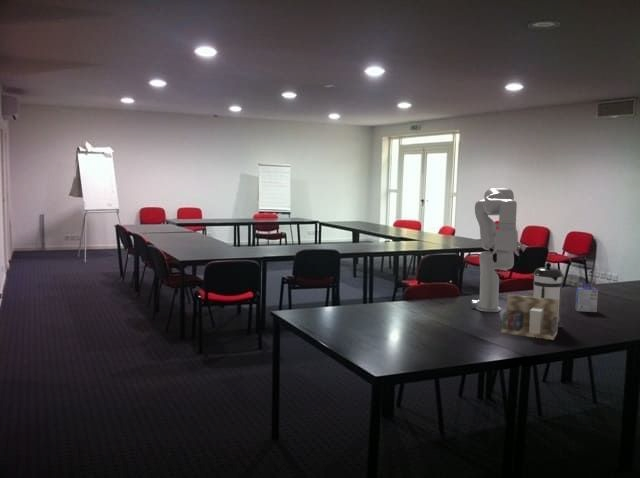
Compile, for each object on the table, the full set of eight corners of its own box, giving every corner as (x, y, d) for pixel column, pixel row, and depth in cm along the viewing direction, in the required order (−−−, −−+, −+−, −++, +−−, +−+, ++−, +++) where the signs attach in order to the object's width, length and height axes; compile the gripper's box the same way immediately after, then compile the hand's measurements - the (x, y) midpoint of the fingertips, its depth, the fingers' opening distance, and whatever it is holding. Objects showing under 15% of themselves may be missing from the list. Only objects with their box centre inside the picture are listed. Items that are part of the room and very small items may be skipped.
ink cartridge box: (594, 310, 290) (595, 283, 289) (597, 312, 285) (599, 285, 283) (574, 309, 292) (576, 282, 291) (577, 311, 287) (578, 284, 285)
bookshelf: (501, 332, 245) (502, 299, 244) (506, 326, 256) (508, 294, 254) (553, 340, 234) (555, 304, 233) (557, 333, 244) (558, 299, 243)
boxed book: (529, 332, 241) (530, 310, 240) (532, 328, 247) (533, 306, 246) (539, 333, 238) (540, 311, 237) (542, 329, 245) (543, 308, 244)
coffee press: (568, 324, 261) (571, 262, 258) (555, 330, 250) (558, 266, 246) (532, 317, 273) (535, 258, 270) (518, 323, 262) (521, 262, 259)
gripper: (486, 226, 254) (485, 262, 255) (525, 228, 245) (523, 265, 247) (490, 225, 260) (488, 260, 262) (528, 227, 251) (526, 263, 253)
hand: (505, 263), depth 254 cm, fingers open, 9 cm apart
